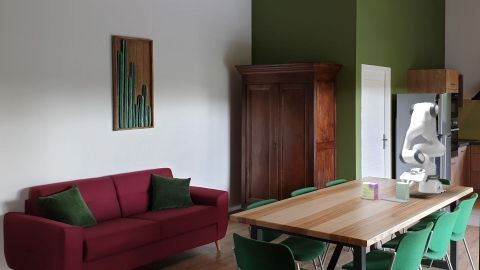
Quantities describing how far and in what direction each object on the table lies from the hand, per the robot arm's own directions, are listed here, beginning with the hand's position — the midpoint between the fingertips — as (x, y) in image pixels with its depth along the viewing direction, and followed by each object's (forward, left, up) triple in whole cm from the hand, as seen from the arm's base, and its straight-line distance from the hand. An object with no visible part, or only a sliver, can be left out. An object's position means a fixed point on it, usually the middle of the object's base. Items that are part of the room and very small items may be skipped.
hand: (408, 186), depth 388 cm
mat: (+15, 0, -9) cm, 18 cm away
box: (+24, -16, -9) cm, 30 cm away
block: (+7, 0, -9) cm, 11 cm away
